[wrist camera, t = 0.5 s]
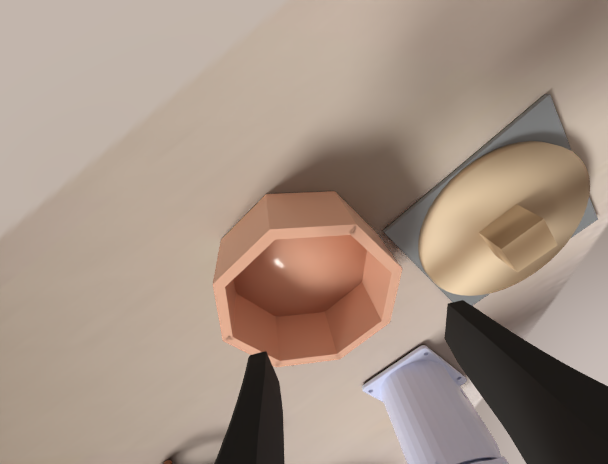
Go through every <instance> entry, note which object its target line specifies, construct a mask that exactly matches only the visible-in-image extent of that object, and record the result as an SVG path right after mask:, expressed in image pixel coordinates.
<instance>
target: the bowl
mask: <svg viewBox="0 0 608 464" xmlns="http://www.w3.org/2000/svg"><path fill="white" fill-rule="evenodd" d="M401 273H402V267H401V266H400V265H399V263H398V262H397V261H396V259H395V258H394V256H393V255H392V254H391V252H390V251H389V250H388V248H387V247H386V246H385V244H384V243H383V241H382V240H381V239H380V237H379V236H378V235H377V233H376V232H375V231H374V230H373V229H372V228H371V227H370V226H369V225H368V224H367V223H366V222H365V221H364V220H363V219H362V218H361V217H360V216H359V215H358V214H357V213H356V212H355V211H354V210H353V209H352V208H351V207H350V206H349V205H348V204H347V203H346V202H345V201H344V200H343V199H342V198H341V197H340V196H339V195H338V194H337V193H336V192H335V191H328V192H304V193H280V194H266V195H265V196H264V197H263V198H262V199H261V200H260V201H259V202H258V203H257V204H256V205H255V206H254V207H253V208H252V209H251V210H250V211H249V212H248V213H247V214H246V215H245V216H244V217H243V218H242V219H241V220H240V221H239V222H238V223H237V224H236V225H235V226H234V227H233V228H232V229H231V230H230V231H229V232H228V233H227V234H226V235H225V236H224V237H223V238H222V239H221V242H220V247H219V253H218V258H217V264H216V269H215V275H214V280H213V288H214V294H215V300H216V305H217V311H218V316H219V322H220V327H221V333H222V339H223V341H224V342H226V343H228V344H230V345H232V346H234V347H236V348H238V349H240V350H242V351H244V352H246V353H248V354H250V355H253V354H256V353H260V352H264V351H266V352H267V354H268V356H269V359H270V361H271V364H272V365H273V366H275V367H282V366H290V365H298V364H306V363H314V362H322V361H330V360H338V359H341V358H342V357H344V356H345V355H346V354H348V353H349V352H350V351H352V350H353V349H354V348H356V347H357V346H359V345H360V344H361V343H363V342H364V341H365V340H367V339H368V338H370V337H371V336H372V335H374V334H375V333H376V332H378V331H379V330H380V329H382V328H383V327H385V326H386V325H387V324H389V323H390V320H391V315H392V311H393V307H394V303H395V298H396V294H397V290H398V285H399V281H400V277H401Z"/></svg>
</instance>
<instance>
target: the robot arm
mask: <svg viewBox="0 0 608 464" xmlns="http://www.w3.org/2000/svg"><path fill="white" fill-rule="evenodd" d="M445 340H446V342H447V343H448V345H449V347H450V349H451V351H452V353H453V354H454V356H455V358H456V360H457V361H458V363H459V365H460V366H461V367H462V369H463V370H464V372H465V373H466V375H467V376H468V377H469V379H470V380H471V382H472V383H473V384H474V386H475V387H476V389H477V390H478V391H479V393H480V394H481V396H482V397H483V398H484V400H485V401H486V402H487V404H488V405H489V406H490V408H491V409H492V411H493V412H494V414H495V415H496V416H497V418H498V419H499V421H500V422H501V423H502V425H503V426H504V428H505V429H506V431H507V432H508V434H509V435H510V437H511V438H512V440H513V442H514V443H515V445H516V447H517V448H518V450H519V452H520V453H521V455H522V457H523V458H524V460H525V462H526V463H527V464H608V386H606V385H604V384H602V383H600V382H598V381H596V380H594V379H592V378H590V377H588V376H586V375H584V374H582V373H580V372H578V371H577V370H575V369H573V368H571V367H569V366H568V365H566V364H564V363H562V362H560V361H559V360H557V359H555V358H554V357H552V356H550V355H548V354H547V353H545V352H543V351H542V350H540V349H538V348H537V347H535V346H533V345H532V344H530V343H528V342H527V341H525V340H524V339H522V338H520V337H519V336H517V335H516V334H514V333H512V332H511V331H509V330H508V329H506V328H505V327H503V326H502V325H500V324H498V323H497V322H495V321H494V320H492V319H491V318H489V317H488V316H486V315H485V314H483V313H482V312H480V311H479V310H477V309H476V308H474V307H473V306H471V305H470V304H468V303H467V302H465V301H464V300H461V301H457V302H453V303H449V304H448V307H447V318H446V329H445ZM466 381H467V379H466V378H465V376H464V375H462V374H461V373H460V372H459V371H457V370H456V369H455V368H453V367H452V366H451V365H450V364H448V363H447V362H446V361H445V360H443V359H442V358H441V357H440V356H438V355H437V354H436V353H435V352H433V351H432V350H431V349H430V348H428V347H427V346H425V345H422V346H420V347H418V348H417V349H415V350H414V351H412V352H411V353H409V354H408V355H406V356H405V357H403V358H402V359H400V360H399V361H398V362H396V363H395V364H393V365H392V366H390V367H389V368H387V369H386V370H384V371H383V372H381V373H380V374H378V375H377V376H375V377H374V378H373V379H371V380H370V381H368V382H367V383H365V384H364V385H363V386H362V389H363V391H364V392H365V393H367V394H369V395H371V396H373V397H375V398H377V399H378V400H380V401H382V402H384V405H385V407H386V410H387V412H388V415H389V418H390V420H391V423H392V425H393V428H394V430H395V433H396V436H397V438H398V441H399V443H400V446H401V449H402V451H403V454H404V456H405V459H406V461H407V464H509V463H508V462H507V460H506V459H505V458H504V457H501V454H500V451H499V448H498V445H497V443H496V441H495V439H494V438H493V436H492V434H491V433H490V431H489V430H488V428H487V427H486V425H485V424H484V422H483V421H482V419H481V417H480V416H479V415H478V413H477V411H476V410H475V408H474V407H473V405H472V403H471V402H470V400H469V399H468V397H467V396H466V394H465V393H464V391H463V389H462V388H461V385H462V384H464V383H465V382H466ZM215 464H284V434H283V409H282V401H281V393H280V385H279V381H278V378H277V376H276V373H275V371H274V369H273V366H272V364H271V361H270V359H269V356H268V354H267V352H266V351H264V352H260V353H256V354H253V355H250V356H249V358H248V363H247V367H246V371H245V375H244V379H243V383H242V386H241V390H240V393H239V397H238V400H237V403H236V406H235V409H234V412H233V415H232V418H231V421H230V424H229V427H228V430H227V432H226V435H225V438H224V440H223V443H222V446H221V449H220V451H219V454H218V456H217V459H216V461H215Z"/></svg>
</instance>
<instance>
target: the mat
mask: <svg viewBox="0 0 608 464" xmlns="http://www.w3.org/2000/svg"><path fill="white" fill-rule="evenodd" d="M526 141H540V142H546V143H550V144H554V145H558V146H561V147H564V148H566V149H568V150H571V148H570V145H569V142H568V140H567V137H566V135H565V132H564V129H563V127H562V124H561V122H560V119H559V116H558V114H557V111H556V109H555V106H554V103H553V101H552V98H551V96H550V94H545V95H544V96H543V97H541V98H540V99H539V100H538V101H537V102H535V103H534V104H533V105H532V106H531V107H530V108H528V109H527V110H526V111H525V112H524V113H522V114H521V115H520V116H519V117H518V118H516V119H515V120H514V121H513V122H512V123H510V124H509V125H508V126H507V127H506V128H505V129H503V130H502V131H501V132H500V133H499V134H497V135H496V136H495V137H494V138H493V139H491V140H490V141H489V142H488V143H487V144H485V145H484V146H483V147H482V148H481V149H480V150H478V151H477V152H476V153H475V154H474V155H472V156H471V157H470V158H469V159H468V160H466V161H465V162H464V163H463V164H462V165H460V166H459V167H458V168H457V169H456V170H455V171H453V172H452V173H451V174H450V175H449V176H447V177H446V178H445V179H444V180H443V181H441V182H440V183H439V184H438V185H437V186H435V187H434V188H433V189H432V190H431V191H430V192H428V193H427V194H426V195H425V196H424V197H422V198H421V199H420V200H419V201H418V202H416V203H415V204H414V205H413V206H412V207H411V208H409V209H408V210H407V211H406V212H405V213H403V214H402V215H401V216H400V217H399V218H397V219H396V220H395V221H394V222H393V223H391V224H390V225H389V226H388V227H387V228H386V229H384V230H383V232H384V233H385V234H386V235H387V236H388V237H389V238H390V239H391V240H392V241H393V242H394V243H395V244H396V245H397V246H398V247H399V248H400V249H401V250H402V251H403V252H404V253H405V254H406V255H407V256H408V257H409V258H410V259H411V260H412V261H413V262H414V263H415V264H416V265H417V266H418V268H419V269H420V270H421V271H422V272H423V273H424V274H425V275H426V276H427V277H428V278H429V279H430V280H431V281H432V279H431V278H430V277H429V276H428V274H427V273H426V272H425V270H424V269H423V267H422V265H421V262H420V258H419V252H418V240H419V234H420V230H421V227H422V223H423V220H424V218H425V216H426V214H427V212H428V210H429V208H430V206H431V205H432V203H433V201H434V200H435V198H436V197H437V196H438V194H439V193H440V192H441V190H442V189H443V188H444V187H445V186H446V185H447V183H448V182H449V181H450V180H451V179H452V178H453V177H454V176H455V175H457V174H458V173H459V172H460V171H461V170H462V169H464V168H465V167H466V166H468V165H469V164H470V163H471V162H473V161H475V160H476V159H478V158H480V157H481V156H483V155H485V154H487V153H489V152H491V151H493V150H495V149H497V148H500V147H503V146H506V145H509V144H513V143H518V142H526ZM571 151H572V150H571ZM596 220H598V218H597V215H596V213H595V210H594V208H593V205H592V202H591V200H590V197H589V199H588V203H587V207H586V210H585V212H584V215H583V217H582V219H581V221H580V223H579V225H578V227H577V229H576V230H575V232H574V234H573V235H572V237H573V236H574V235H576V234H577V233H579V232H580V231H582V230H583V229H585V228H586V227H588V226H589V225H590V224H592V223H593V222H595V221H596ZM572 237H571V238H572ZM432 282H433V281H432ZM433 283H434V282H433ZM434 284H435V283H434ZM435 285H436V284H435ZM436 286H437V287H438V288H439V289H440V290H441V291H442V292H443V293H444V294H445V295H446V296H447V297H448V298H449V299H450V300H451V301H452V302H457V301H461V300H464V301H465V302H467V303H468V304H470V305H471V306H473V305H474V304H475V303H477V302H478V301H480V300H481V299H483V298H484V297H486V296H487V295H489V294H490V293H489V294H484V295H476V296H465V295H457V294H453V293H450V292H447V291H445V290H443V289H442V288H440V287H439V286H438V285H436Z"/></svg>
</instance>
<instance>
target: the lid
mask: <svg viewBox="0 0 608 464" xmlns="http://www.w3.org/2000/svg"><path fill="white" fill-rule="evenodd" d="M589 192H590V181H589V175H588V171H587V169H586V167H585V165H584V163H583V162H582V160H581V159H580V158H579V157H578V156H577V155H576V154H575V153H573V152H572V151H571V150H568V149H566V148H564V147H561V146H558V145H554V144H550V143H546V142H540V141H526V142H518V143H513V144H509V145H506V146H503V147H500V148H497V149H495V150H493V151H491V152H489V153H487V154H485V155H483V156H481V157H480V158H478V159H476V160H475V161H473V162H471V163H470V164H469V165H468V166H466V167H465V168H464V169H462V170H461V171H460V172H459V173H458V174H457V175H455V176H454V177H453V178H452V179H451V180H450V181H449V182H448V183H447V185H446V186H445V187H444V188H443V189H442V190H441V192H440V193H439V194H438V196H437V197H436V198H435V200H434V201H433V203H432V205H431V206H430V208H429V210H428V212H427V214H426V216H425V218H424V220H423V223H422V227H421V230H420V234H419V240H418V252H419V258H420V262H421V265H422V267H423V269H424V270H425V272H426V273H427V274H428V276H429V277H430V278H431V279H432V281H433V282H434V283H435V284H436V285H438V286H439V287H440V288H442V289H443V290H445V291H447V292H450V293H453V294H457V295H465V296H476V295H484V294H489V293H493V292H497V291H500V290H503V289H506V288H508V287H510V286H512V285H515V284H517V283H519V282H520V281H522V280H524V279H526V278H527V277H529V276H531V275H532V274H534V273H535V272H536V271H538V270H539V269H541V268H542V267H543V266H544V265H545V264H547V263H548V262H549V261H550V260H551V259H552V258H553V257H554V256H555V255H556V254H557V253H558V252H559V251H560V250H561V249H562V248H563V247H564V246H565V244H566V243H567V242H568V241H569V239H570V238H571V237H572V235H573V234H574V232H575V230H576V229H577V227H578V225H579V223H580V221H581V219H582V217H583V215H584V212H585V210H586V207H587V203H588V199H589Z"/></svg>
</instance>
